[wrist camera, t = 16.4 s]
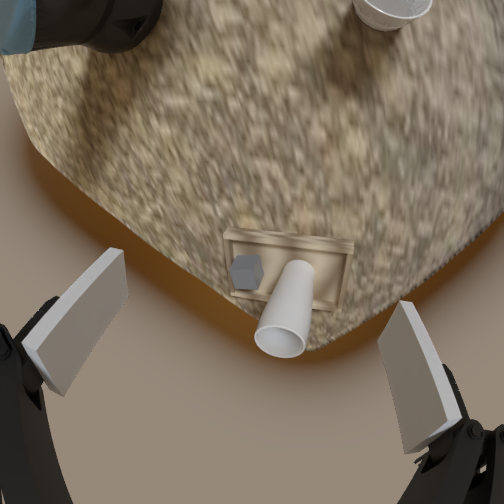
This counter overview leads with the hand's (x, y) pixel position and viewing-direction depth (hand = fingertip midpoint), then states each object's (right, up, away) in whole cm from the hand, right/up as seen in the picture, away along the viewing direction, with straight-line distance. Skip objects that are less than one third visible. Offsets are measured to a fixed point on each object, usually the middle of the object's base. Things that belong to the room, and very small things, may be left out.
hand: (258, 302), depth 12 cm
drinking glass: (+8, -1, +33) cm, 34 cm away
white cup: (+15, +32, +8) cm, 36 cm away
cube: (-1, 0, +35) cm, 35 cm away
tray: (+6, 0, +34) cm, 35 cm away
